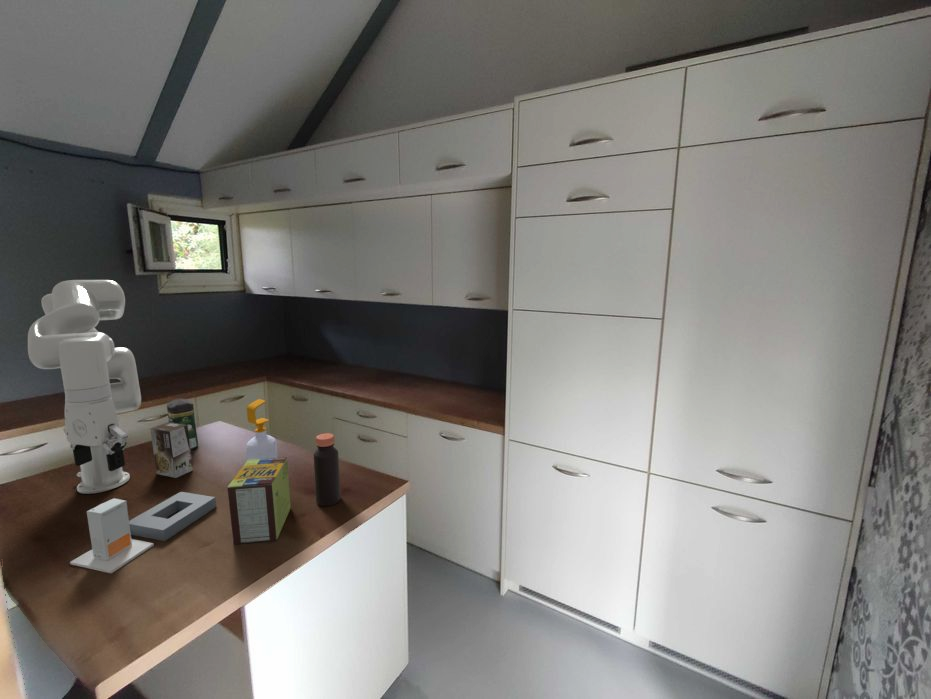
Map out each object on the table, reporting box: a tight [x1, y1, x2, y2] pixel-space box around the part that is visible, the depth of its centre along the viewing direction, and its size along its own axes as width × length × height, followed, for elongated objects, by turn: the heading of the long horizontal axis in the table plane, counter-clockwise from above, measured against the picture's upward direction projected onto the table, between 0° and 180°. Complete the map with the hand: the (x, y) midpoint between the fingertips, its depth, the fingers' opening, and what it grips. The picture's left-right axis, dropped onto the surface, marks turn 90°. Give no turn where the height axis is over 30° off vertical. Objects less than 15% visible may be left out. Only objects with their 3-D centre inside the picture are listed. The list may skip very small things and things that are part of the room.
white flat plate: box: [69, 538, 155, 574], centre depth 99 cm, size 12×10×1 cm
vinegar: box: [313, 432, 341, 507], centre depth 122 cm, size 7×7×20 cm
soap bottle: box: [246, 398, 279, 460], centre depth 139 cm, size 9×9×25 cm
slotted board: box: [129, 491, 217, 542], centre depth 113 cm, size 12×16×3 cm
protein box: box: [227, 457, 292, 545], centre depth 110 cm, size 10×15×16 cm
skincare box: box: [86, 498, 132, 561], centre depth 98 cm, size 6×4×12 cm
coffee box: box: [149, 421, 194, 479], centre depth 139 cm, size 9×6×16 cm
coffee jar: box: [166, 398, 199, 450], centre depth 158 cm, size 10×8×19 cm
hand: (100, 465), depth 96 cm, fingers open, 9 cm apart
